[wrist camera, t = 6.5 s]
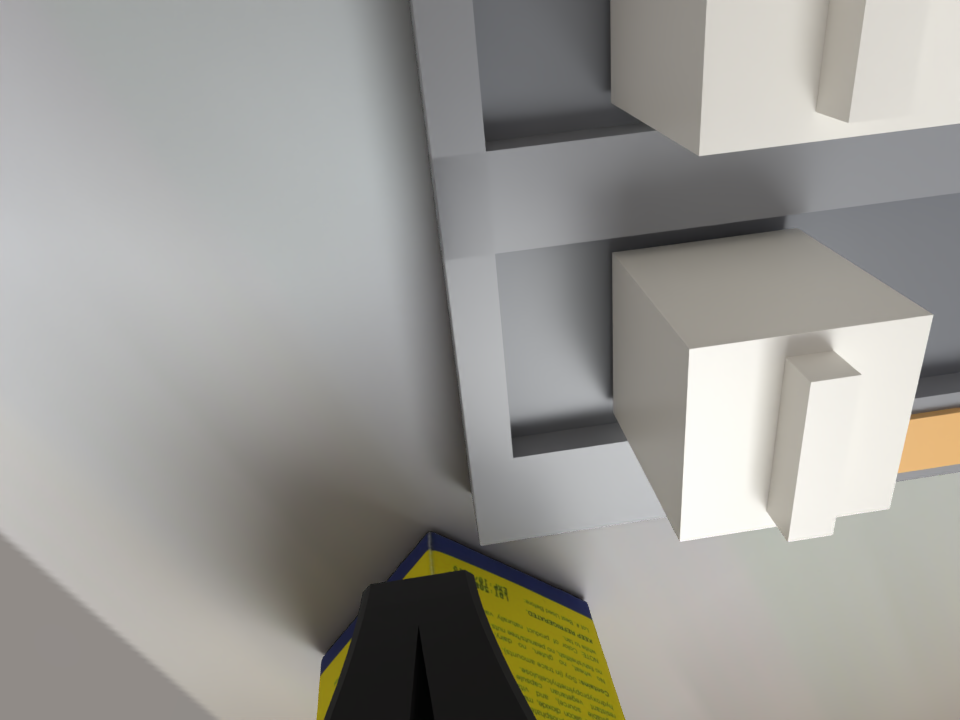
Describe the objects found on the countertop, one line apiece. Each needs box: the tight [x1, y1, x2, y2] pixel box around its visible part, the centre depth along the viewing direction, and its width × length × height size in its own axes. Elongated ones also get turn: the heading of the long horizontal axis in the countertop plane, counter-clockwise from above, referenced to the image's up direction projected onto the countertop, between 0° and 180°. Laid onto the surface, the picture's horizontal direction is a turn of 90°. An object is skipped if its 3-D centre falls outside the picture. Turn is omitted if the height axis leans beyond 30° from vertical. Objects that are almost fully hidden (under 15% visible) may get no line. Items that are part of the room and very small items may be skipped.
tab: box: [612, 228, 933, 542], centre depth 14 cm, size 4×4×5 cm
